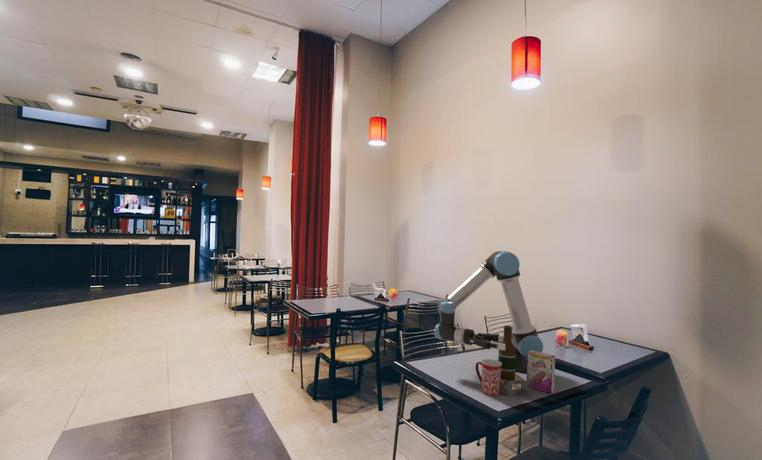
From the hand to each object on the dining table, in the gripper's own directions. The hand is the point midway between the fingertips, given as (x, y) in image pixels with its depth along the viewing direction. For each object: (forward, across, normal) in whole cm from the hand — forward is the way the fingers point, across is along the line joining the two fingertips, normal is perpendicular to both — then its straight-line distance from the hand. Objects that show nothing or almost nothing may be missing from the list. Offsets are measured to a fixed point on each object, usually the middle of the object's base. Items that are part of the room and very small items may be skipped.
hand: (508, 344), depth 164 cm
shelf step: (+1, 0, -20) cm, 20 cm away
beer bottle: (-1, 0, -16) cm, 16 cm away
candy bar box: (+13, -7, -20) cm, 25 cm away
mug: (-6, +11, -20) cm, 24 cm away
